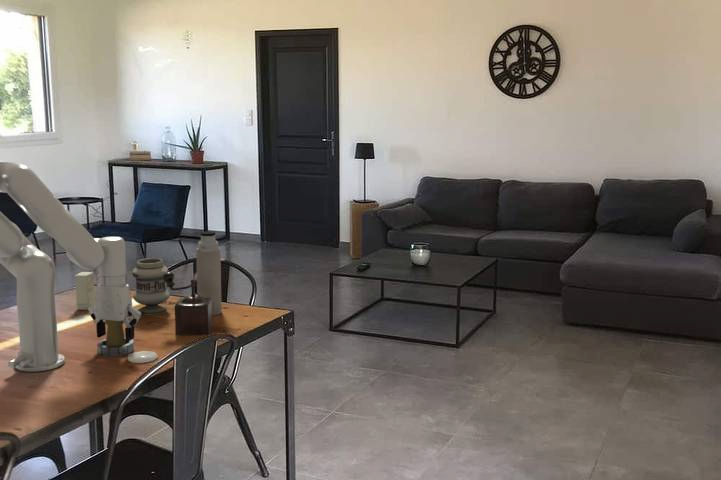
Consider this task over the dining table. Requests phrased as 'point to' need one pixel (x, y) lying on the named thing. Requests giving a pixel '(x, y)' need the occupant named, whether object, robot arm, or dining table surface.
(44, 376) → the dining table surface
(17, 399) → the dining table surface
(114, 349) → the holder ring
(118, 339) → the cork
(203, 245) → the thermos bottle
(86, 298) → the skincare box
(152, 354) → the pebble
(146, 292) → the apothecary jar
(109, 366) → the dining table surface
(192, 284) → the pepper mill
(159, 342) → the dining table surface
